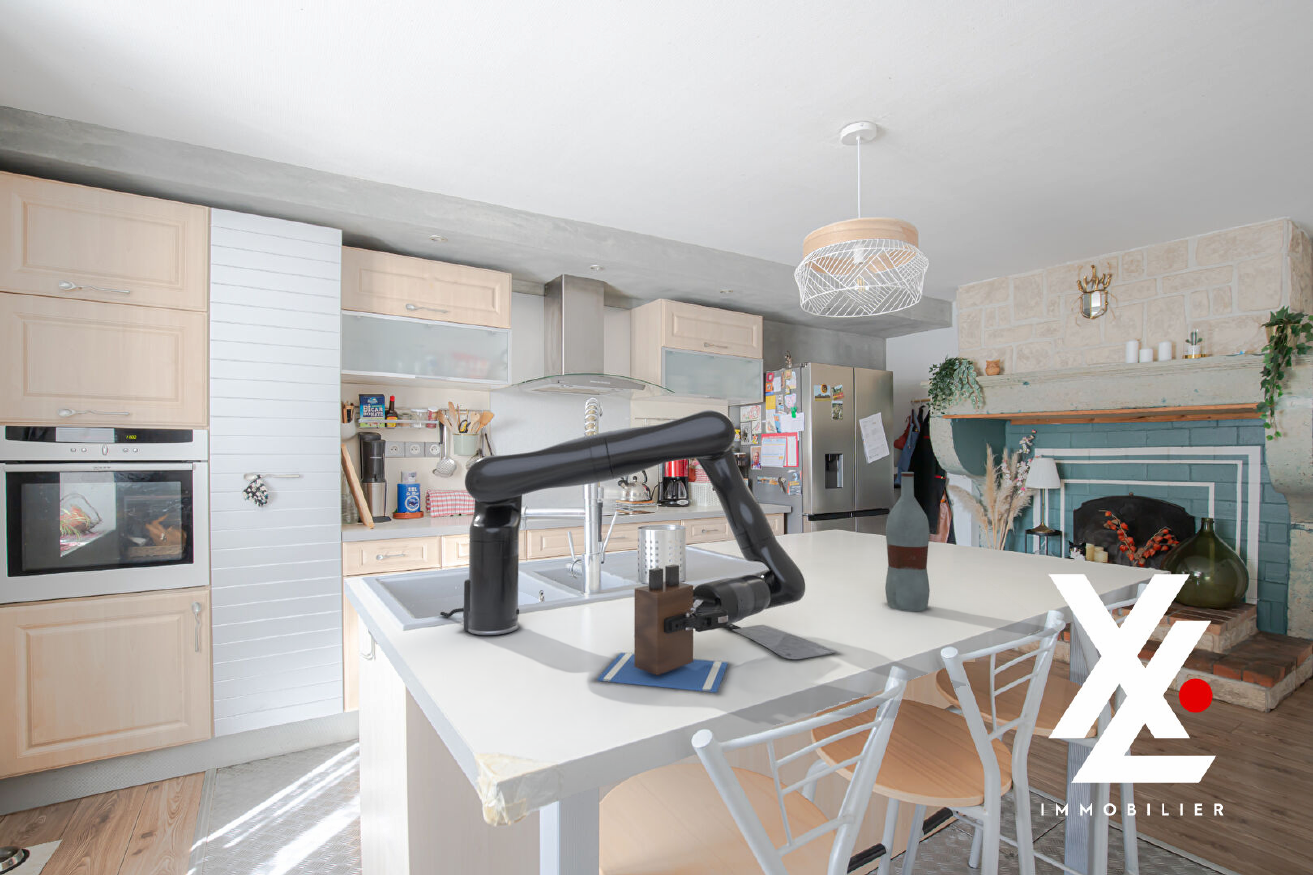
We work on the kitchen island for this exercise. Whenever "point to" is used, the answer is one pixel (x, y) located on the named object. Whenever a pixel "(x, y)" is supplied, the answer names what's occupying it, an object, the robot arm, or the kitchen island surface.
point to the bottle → (907, 551)
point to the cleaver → (782, 642)
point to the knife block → (661, 622)
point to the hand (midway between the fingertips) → (652, 622)
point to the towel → (667, 674)
